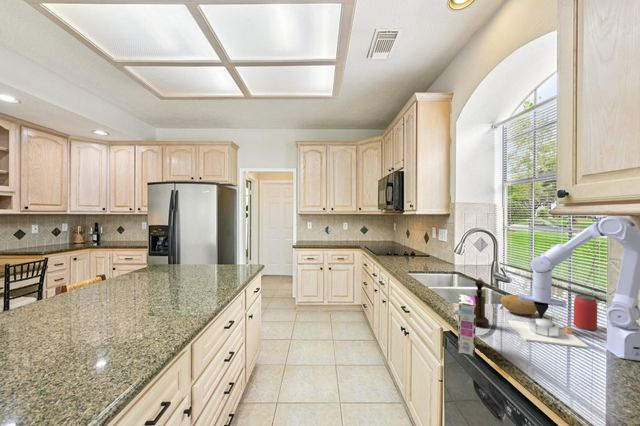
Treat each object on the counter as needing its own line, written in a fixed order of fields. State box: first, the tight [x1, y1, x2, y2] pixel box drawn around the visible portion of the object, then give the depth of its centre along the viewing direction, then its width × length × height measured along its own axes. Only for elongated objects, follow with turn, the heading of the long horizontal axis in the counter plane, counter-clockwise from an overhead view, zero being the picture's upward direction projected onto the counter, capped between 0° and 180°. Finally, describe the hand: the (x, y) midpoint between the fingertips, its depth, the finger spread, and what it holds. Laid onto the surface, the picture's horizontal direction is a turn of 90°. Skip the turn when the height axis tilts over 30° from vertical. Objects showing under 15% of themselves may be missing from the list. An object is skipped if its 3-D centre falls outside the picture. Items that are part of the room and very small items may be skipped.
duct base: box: [507, 318, 590, 349], centre depth 101 cm, size 17×18×5 cm
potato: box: [499, 294, 538, 316], centre depth 121 cm, size 10×14×8 cm
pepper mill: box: [474, 279, 490, 328], centre depth 109 cm, size 7×6×18 cm
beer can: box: [573, 294, 598, 332], centre depth 107 cm, size 7×7×12 cm
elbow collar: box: [529, 315, 561, 337], centre depth 103 cm, size 13×8×3 cm, turn 133°
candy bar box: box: [457, 293, 477, 358], centre depth 91 cm, size 11×5×16 cm, turn 152°
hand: (540, 321), depth 107 cm, fingers closed, pressing on elbow collar
